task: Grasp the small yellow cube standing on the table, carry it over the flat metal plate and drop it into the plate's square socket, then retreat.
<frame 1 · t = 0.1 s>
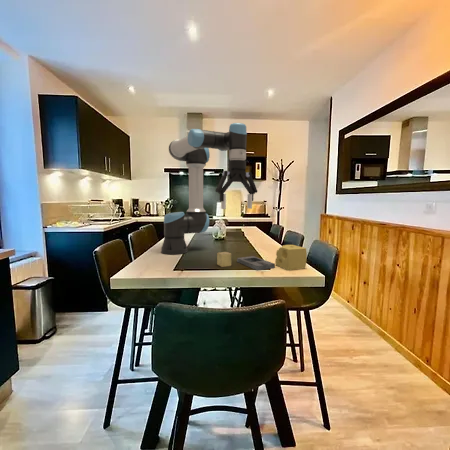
hand: (236, 208, 124), 28 cm above the table, fingers open, 13 cm apart
cheese: (290, 267, 133), on the table
metal plate: (255, 264, 136), on the table
yellow cube: (224, 265, 135), on the table
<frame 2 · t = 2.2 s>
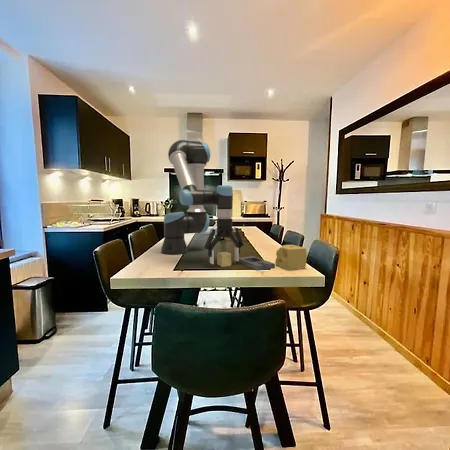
hand: (224, 262, 134), 2 cm above the table, fingers open, 13 cm apart
nothing on the table moved.
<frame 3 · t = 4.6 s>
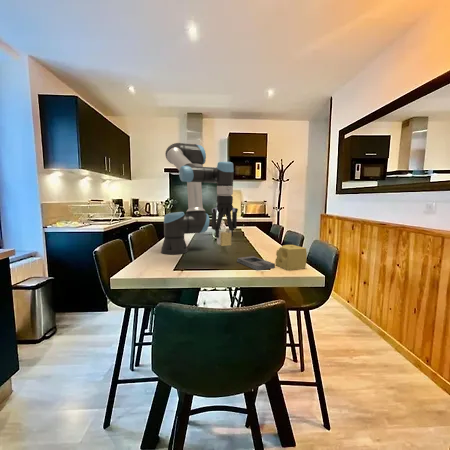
hand: (223, 243, 134), 10 cm above the table, fingers closed on yellow cube, 5 cm apart
yellow cube: (224, 244, 134), point 10 cm above the table, touching gripper
everything else where it was.
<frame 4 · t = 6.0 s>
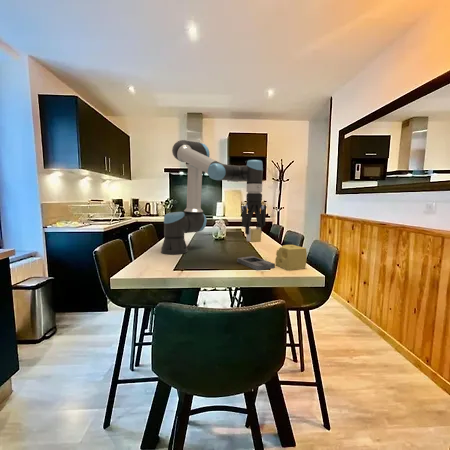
hand: (253, 240, 137), 12 cm above the table, fingers closed on yellow cube, 5 cm apart
yellow cube: (253, 241, 136), point 11 cm above the table, touching gripper
everything else where it was.
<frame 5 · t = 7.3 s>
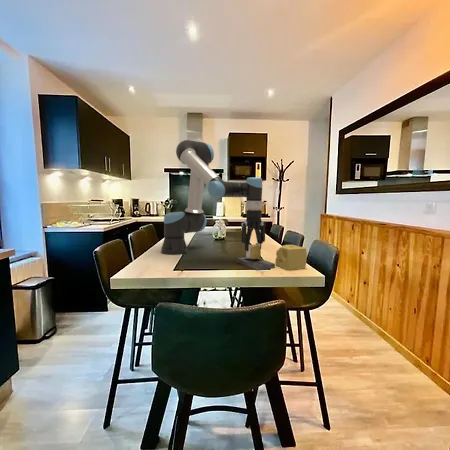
hand: (253, 256, 138), 4 cm above the table, fingers closed on yellow cube, 5 cm apart
yellow cube: (253, 257, 137), point 3 cm above the table, touching gripper
everything else where it was.
when the fingers open (3 cm above the table, at t = 8.1 s): yellow cube drops 3 cm, resting in metal plate.
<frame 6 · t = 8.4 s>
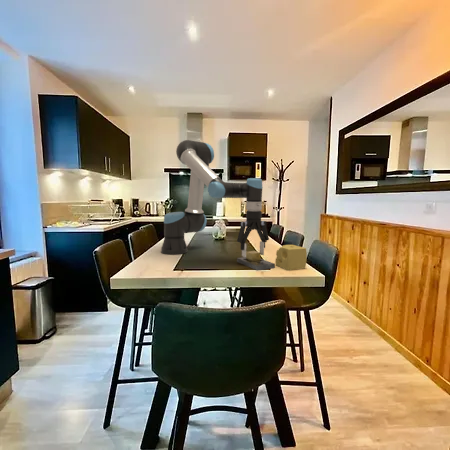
hand: (252, 255, 138), 4 cm above the table, fingers open, 10 cm apart
yellow cube: (253, 264, 138), resting in metal plate
everything else where it was.
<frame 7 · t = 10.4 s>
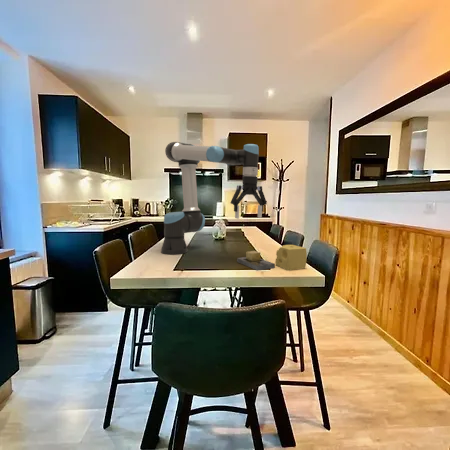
hand: (248, 218, 143), 22 cm above the table, fingers open, 13 cm apart
nothing on the table moved.
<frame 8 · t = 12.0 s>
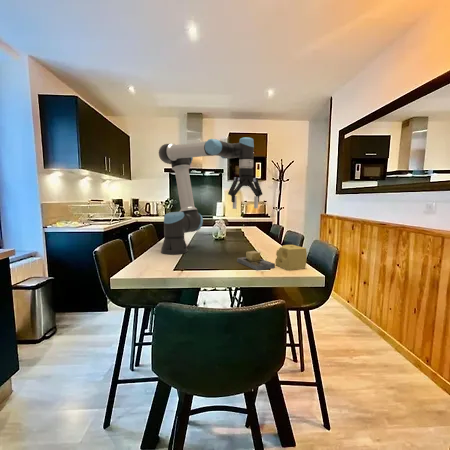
hand: (245, 208, 149), 27 cm above the table, fingers open, 13 cm apart
nothing on the table moved.
at the end: yellow cube 0.3 cm from the target spot on the metal plate, point 0.0 cm above the metal plate's base; yellow cube tilted 0°; the gripper is holding nothing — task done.
